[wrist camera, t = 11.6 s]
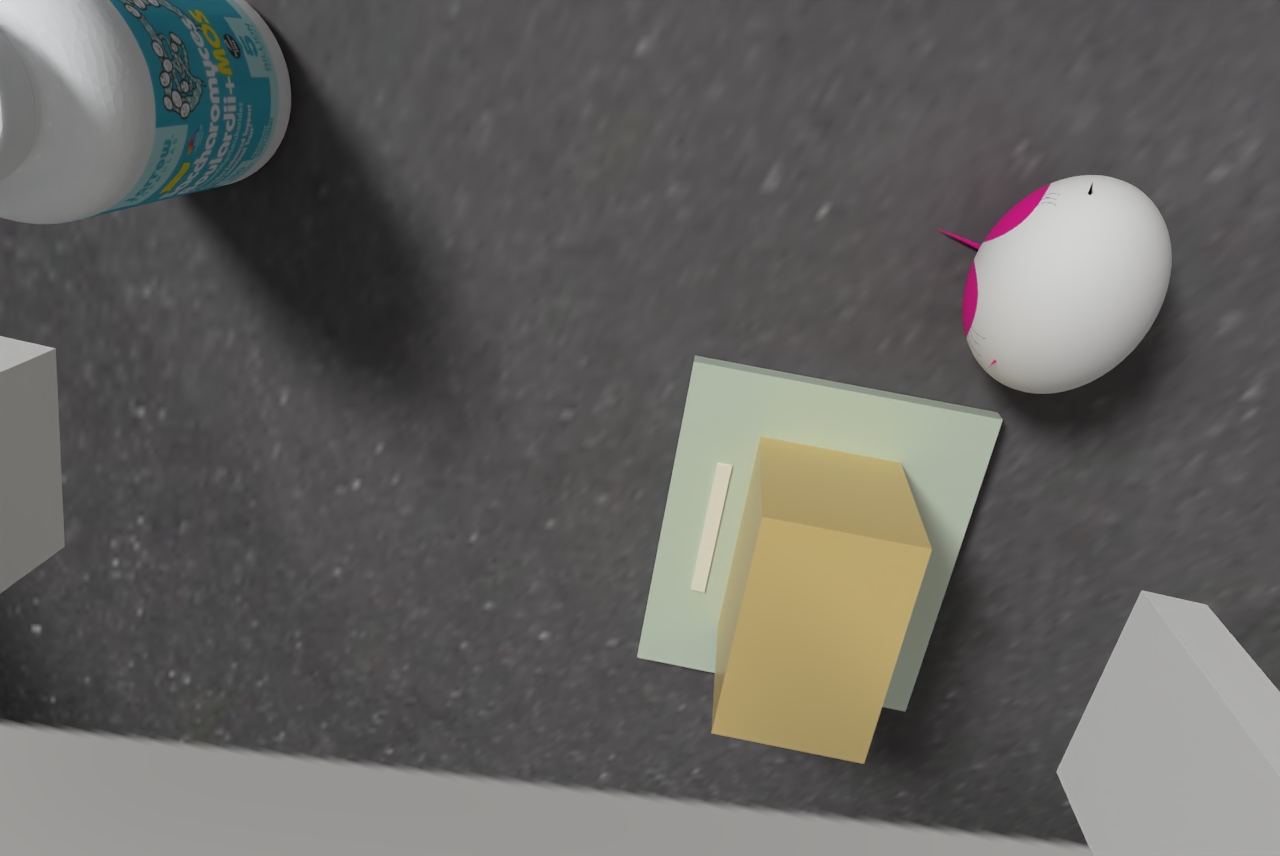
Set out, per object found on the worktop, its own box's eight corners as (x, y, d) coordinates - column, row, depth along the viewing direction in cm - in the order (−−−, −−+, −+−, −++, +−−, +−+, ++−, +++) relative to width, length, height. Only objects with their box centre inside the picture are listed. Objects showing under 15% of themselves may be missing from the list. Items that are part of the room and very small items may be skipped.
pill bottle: (291, 203, 37) (57, 282, 24) (109, 157, 37) (-217, 212, 25) (308, -2, 34) (53, -32, 22) (111, -51, 34) (-257, -109, 22)
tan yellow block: (717, 625, 41) (711, 733, 34) (760, 436, 37) (762, 516, 31) (846, 650, 41) (864, 763, 34) (900, 462, 37) (931, 549, 31)
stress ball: (1019, 147, 36) (963, 110, 31) (1231, 232, 32) (1207, 206, 27) (924, 324, 39) (856, 318, 34) (1109, 422, 35) (1065, 433, 30)
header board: (638, 646, 43) (626, 712, 38) (694, 355, 37) (687, 394, 33) (902, 700, 42) (919, 772, 38) (997, 412, 37) (1029, 459, 33)
